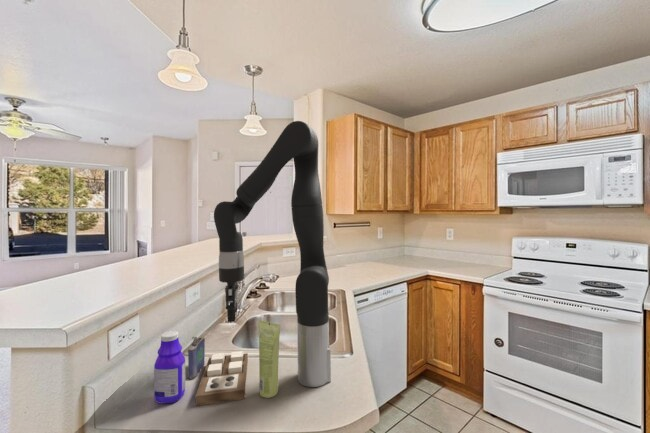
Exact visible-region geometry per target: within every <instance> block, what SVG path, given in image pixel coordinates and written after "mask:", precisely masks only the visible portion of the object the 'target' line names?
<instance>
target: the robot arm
mask: <svg viewBox="0 0 650 433" xmlns="http://www.w3.org/2000/svg"><path fill="white" fill-rule="evenodd" d="M291 160H293V164H294V165H293V166H294V183H293V187H292V193H291V200H290V201H291V202H290V206H291V207H290V208H291V216H292V217H291V218H292V223H293V229H294V230H293V231H294V232H295V236H296V240H297V242H298V247H299V253H300V254H299V255H300V269H299V270H300V271H299V274H298V275H297V277H296V280H295V290H294V291H295V313H296V316H297V319H296V320H297V324H296V325H297V380H298V382H299V384H301V385H302V386H304V387H307V388H316V387H317V388H318V387H322V386H324V385H325V384H327V383H330V382H331V381H332V366H331V364H332V362H331V361H332V360H331V356H332V354H331V352H332V351H331V347H330V343H329V342H330V340H329V338H330V336H329V334H330V333H329V332H330V331H329V326H330V325H329V320H330V318H329V314H330V313H329V295H328V294H329V282H330V278H329V272H328V268H327V264H326V263H327V262H326V258H325V252H324V251H325V250H324V235H325V233H324V230H325V229H324V228H325V227H324V211H323V200H322V190H321V182H320V174H319V137H318V135H317V133H316V132H315V130H314V129H313V128H312V127H311V126H309V125H308V123H306V122H305V121H302V120H295V121H292V122H290V123H288V125H286V126H285V128H284V129H283V130H282V132H281V133H280V135H279V136H278V138H277V139H276V140H275V143H274V144H273V145H272V146H271V148H270V149H269V151H267V153H266V155H265V157H264V158H263V159H262V161H261V162H260V163H259V164H258V166H257V167H255V169H254V170H253V171H252V172H251V174H250V175H249V176H247V178H246V179H245V180H244V181H243V182H242V183H241V184H240V185H239V186H238V188H237V189H236V192H235V193H236V198H234V200H233V201H226V200H225V201H220V202H219V203H217V204H216V206H215V207H214V210H213V220H214V224H215V229H216V232H217V236H218V239H219V240H218V244H219V246H218V247H219V248H218V249H219V251H218V252H219V254H218V281H219V282H221V283H226V285H225V287H224V293H225V296H224V297H225V299H224V300H225V301H224V302H225V309H226V310H227V311H226V312H227V314H226V315H227V322H228V323H233V322H236V313H237V311H238V299H239V298H238V296H239V290H240V285H239V284H238V283H239V282H241V281H243V280H244V279H245V256H244V248H243V247H244V243H243V242H244V241H243V240H244V239H243V235H242V233H241V232H240V231H238V230H237V225H236V224H239V223H241V222H243V221H244V220H245V219H246V218H247V217H248V216H249V214H250V213H251V212H252V210H253V208H254V206H255V205H256V203H258V202H259V200H261V198H262V197H263V196H264V195H265V194H267V192H268V191H269V190H270V188H271V187H272V186H273V184H274V183H275V181H276V179H277V177H278V176H279V174H280V172H281V170H282V169H284V167H285V166H286V165H287V163H289V162H290V161H291Z"/></svg>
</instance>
